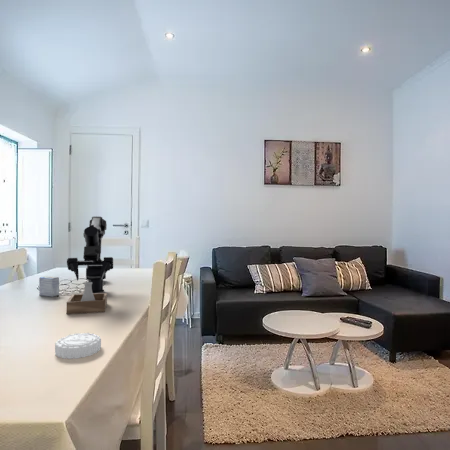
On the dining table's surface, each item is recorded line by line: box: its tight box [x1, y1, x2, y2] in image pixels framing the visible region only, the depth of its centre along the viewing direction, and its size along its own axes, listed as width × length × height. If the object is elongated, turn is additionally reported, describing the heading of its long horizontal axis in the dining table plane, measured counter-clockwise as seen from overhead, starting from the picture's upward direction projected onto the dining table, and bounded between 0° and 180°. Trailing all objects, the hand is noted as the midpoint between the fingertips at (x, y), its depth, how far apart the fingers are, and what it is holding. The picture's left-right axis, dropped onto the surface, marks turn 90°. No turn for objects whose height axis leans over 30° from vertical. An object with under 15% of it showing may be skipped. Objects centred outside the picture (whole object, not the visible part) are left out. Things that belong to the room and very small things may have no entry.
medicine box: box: [38, 275, 60, 298], centre depth 163 cm, size 8×4×9 cm, turn 71°
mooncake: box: [54, 332, 102, 360], centre depth 97 cm, size 12×12×4 cm
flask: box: [81, 281, 95, 301], centre depth 141 cm, size 7×7×10 cm
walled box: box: [65, 292, 108, 315], centre depth 141 cm, size 14×14×5 cm
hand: (89, 279), depth 145 cm, fingers open, 9 cm apart
